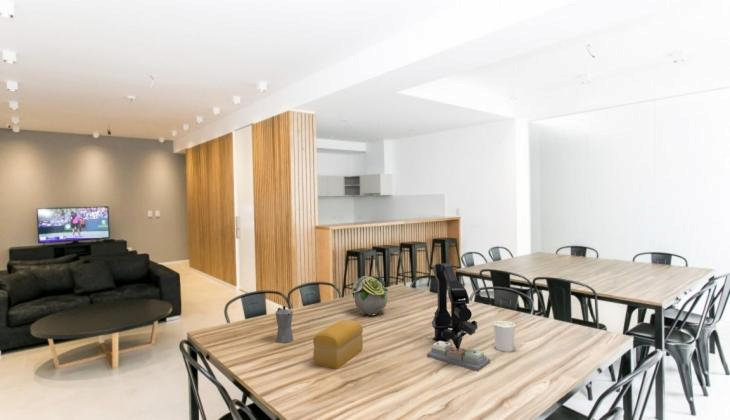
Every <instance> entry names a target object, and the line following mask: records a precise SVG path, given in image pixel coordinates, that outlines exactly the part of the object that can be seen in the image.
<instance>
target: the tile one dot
mask: <svg viewBox="0 0 730 420" xmlns="http://www.w3.org/2000/svg"><path fill="white" fill-rule="evenodd" d="M484 355H485V352H484V351H482V350H478V349H474V348H470V349H467V351H466V352H465V357H468V358H471V359H475V360H479V359H481V358H482V357H484Z"/></svg>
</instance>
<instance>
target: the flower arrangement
mask: <svg viewBox="0 0 730 420" xmlns="http://www.w3.org/2000/svg"><path fill="white" fill-rule="evenodd" d="M350 293H352V299H353V300H354V304H355V306H356V308H357V309H359V310H360V311H362V312H363V313H364V315H366V314H368V315H367V316H374V315H373V314H376V315H378V314H377V313H379V311H382V310H384V309H385V308H386V306H387V302H388V293H389V290H388V289H387V288H386V282H385V280H384V279H383V278H381V277H378V276H377V275H376V276H373V275H364V276H361V277H360V278H359V277H358V278H357V280H356V282H355V283H353V286H352V288H351V290H350Z"/></svg>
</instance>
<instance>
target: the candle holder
mask: <svg viewBox="0 0 730 420" xmlns="http://www.w3.org/2000/svg"><path fill="white" fill-rule="evenodd" d="M515 329H516V323H514V322H512V321H507V320H497V321H494V322H493V330H494V331H493V332H494V333H493V334H494V346H495V349H496V350H497V351H501V352H505V353H507V352H513V351H514V349H515V332H516V330H515Z"/></svg>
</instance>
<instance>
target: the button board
mask: <svg viewBox="0 0 730 420" xmlns="http://www.w3.org/2000/svg"><path fill="white" fill-rule="evenodd" d="M452 348H454V346H451V348H450V349H452ZM450 349H448V350H447V351H442V350H438V349H434V348H433V346H432V347H431V348H430V351H429V352H427V353H426V357H427V356H428V357H427V358H430V357H431V359H434V360H438V361H441V362H445V363H448V364H452V365H455V366H458V367H461V368H466V369H469V370H471V371H476V372H479V371H480V370H482V369H483V368H485V367H486V366H487V365H488V364H490V363H491V359H490V358H488V357H487V355H485V354H484V357H482V358H481V359H479V360H475V359H471V358H468V357H465V354H463V355H461V356H460V355H456V354H453V353H449V350H450Z"/></svg>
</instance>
